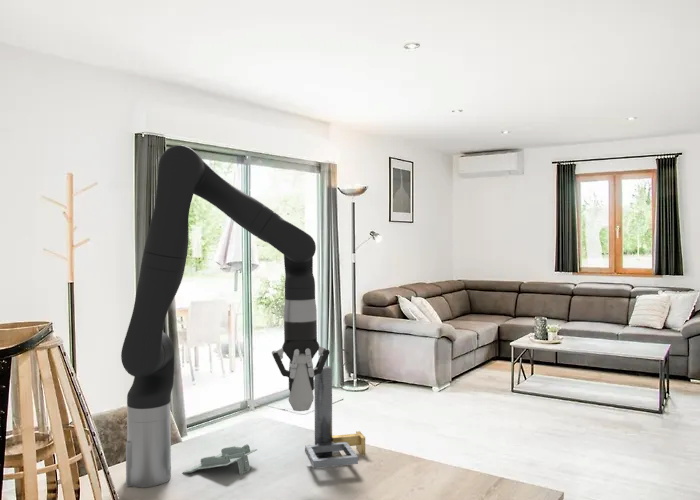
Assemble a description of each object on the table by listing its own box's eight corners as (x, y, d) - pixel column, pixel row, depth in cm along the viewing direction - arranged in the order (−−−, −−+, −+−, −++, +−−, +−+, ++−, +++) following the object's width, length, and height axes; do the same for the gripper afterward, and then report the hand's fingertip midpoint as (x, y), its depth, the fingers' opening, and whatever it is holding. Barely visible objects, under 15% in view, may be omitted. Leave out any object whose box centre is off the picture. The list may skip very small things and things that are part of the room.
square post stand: (313, 478, 130) (313, 381, 130) (300, 451, 147) (300, 365, 147) (378, 471, 134) (378, 377, 134) (358, 446, 151) (358, 362, 151)
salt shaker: (304, 403, 138) (303, 349, 137) (318, 408, 133) (318, 352, 133) (283, 408, 134) (283, 352, 134) (297, 413, 129) (297, 356, 129)
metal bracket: (263, 438, 141) (222, 458, 128) (269, 462, 140) (228, 485, 127) (219, 445, 147) (176, 465, 134) (225, 468, 147) (181, 491, 134)
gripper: (271, 322, 128) (272, 399, 128) (333, 319, 131) (334, 394, 132) (268, 318, 135) (269, 391, 135) (326, 315, 139) (327, 387, 139)
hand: (301, 392), depth 134 cm, fingers closed on salt shaker, 3 cm apart
